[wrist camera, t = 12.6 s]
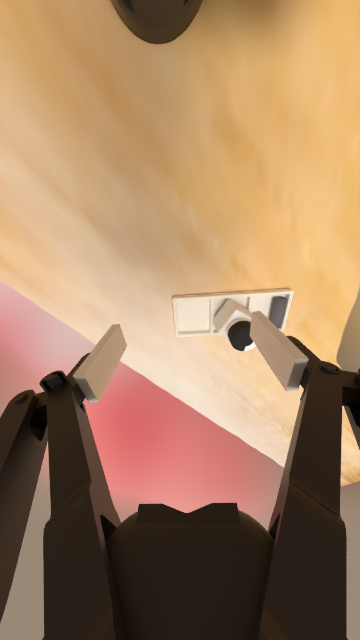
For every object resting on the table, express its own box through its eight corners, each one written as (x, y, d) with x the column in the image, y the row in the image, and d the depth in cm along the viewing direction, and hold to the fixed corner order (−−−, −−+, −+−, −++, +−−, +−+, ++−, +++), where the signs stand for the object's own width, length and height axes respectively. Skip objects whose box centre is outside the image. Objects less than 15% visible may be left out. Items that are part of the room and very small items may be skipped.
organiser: (172, 296, 43) (172, 298, 41) (288, 288, 41) (294, 290, 39) (176, 333, 48) (176, 337, 46) (279, 327, 46) (283, 331, 45)
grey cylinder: (278, 300, 39) (290, 299, 39) (271, 296, 42) (282, 295, 42) (272, 329, 43) (283, 327, 43) (266, 323, 45) (276, 322, 45)
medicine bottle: (212, 320, 43) (221, 346, 33) (227, 298, 40) (244, 319, 30) (233, 331, 45) (249, 360, 34) (249, 310, 42) (273, 335, 31)
